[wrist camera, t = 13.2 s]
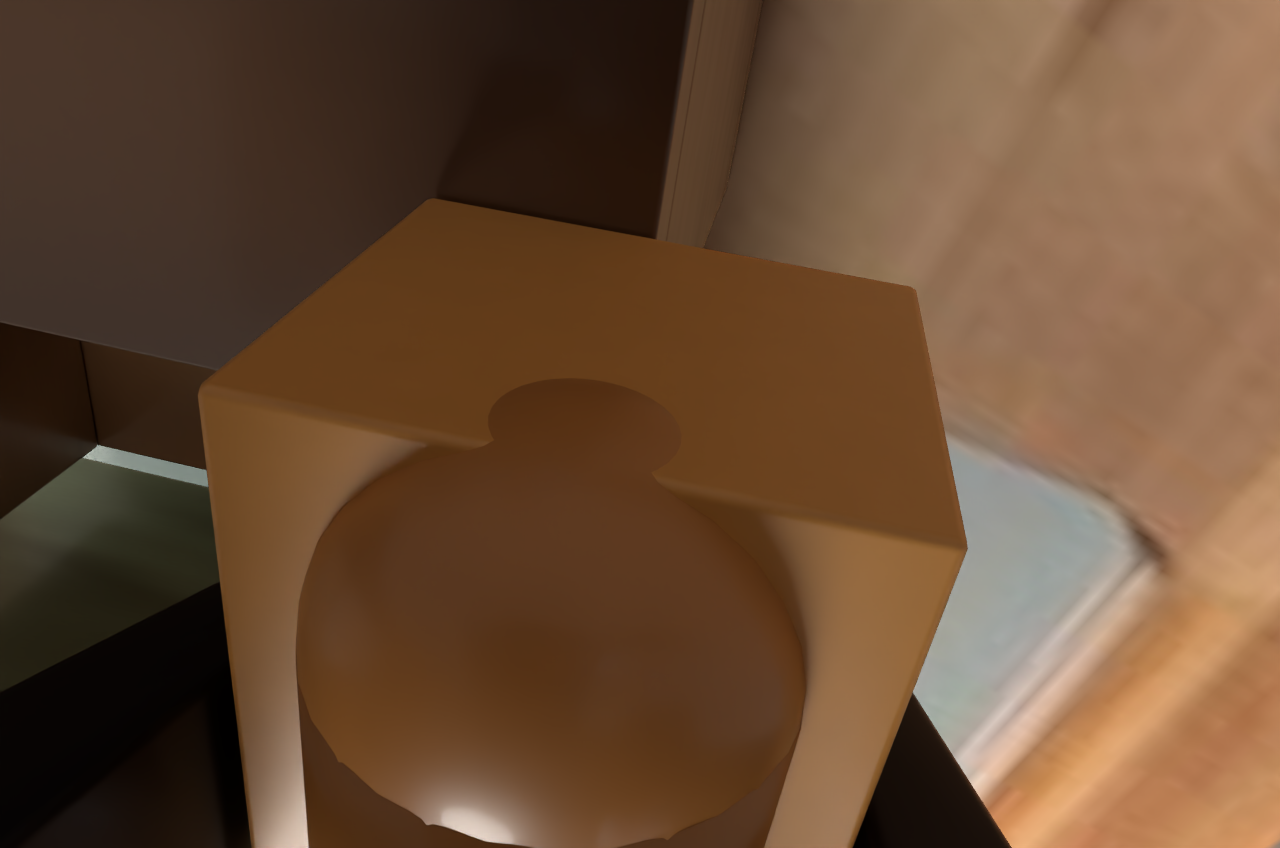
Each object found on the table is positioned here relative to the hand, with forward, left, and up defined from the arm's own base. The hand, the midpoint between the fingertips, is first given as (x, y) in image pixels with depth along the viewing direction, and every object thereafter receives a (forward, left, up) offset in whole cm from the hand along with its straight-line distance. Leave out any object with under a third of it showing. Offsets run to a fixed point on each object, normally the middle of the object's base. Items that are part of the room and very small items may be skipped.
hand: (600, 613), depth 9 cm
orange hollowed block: (0, 0, -1) cm, 1 cm away
